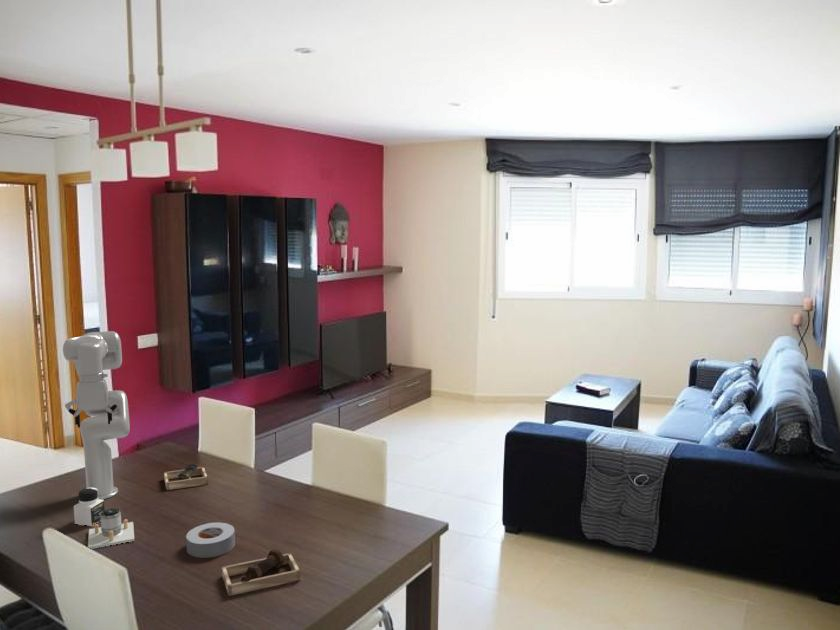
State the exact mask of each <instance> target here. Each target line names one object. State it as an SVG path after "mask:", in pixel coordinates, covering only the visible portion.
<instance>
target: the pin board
mask: <svg viewBox="0 0 840 630" xmlns="http://www.w3.org/2000/svg"><path fill="white" fill-rule="evenodd" d="M122 522H123V523H121V532H120V533H119V534H117V535H115V536H113V531H110V532H109V537H106V536H103V534H102V530H101V526H100V525H99V524H98V523H97V524H95V525H93V528H89V529H88V538H87V539H88V540H87V548H88V547H89V548H91V549H90V550H95V549H100V548H106V547H111V546H110V545H112V546H117V545H116V544H118V545H122V544H121V543H123V544H127V543H126V542H129V543H133V542H132V541H134V542H135V531H134V530H135V529H134V526H135V525H134V521H130V522H129V520H128V519H127V518H125V519H123V521H122ZM105 546H106V547H105ZM99 547H100V548H99Z"/></svg>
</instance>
